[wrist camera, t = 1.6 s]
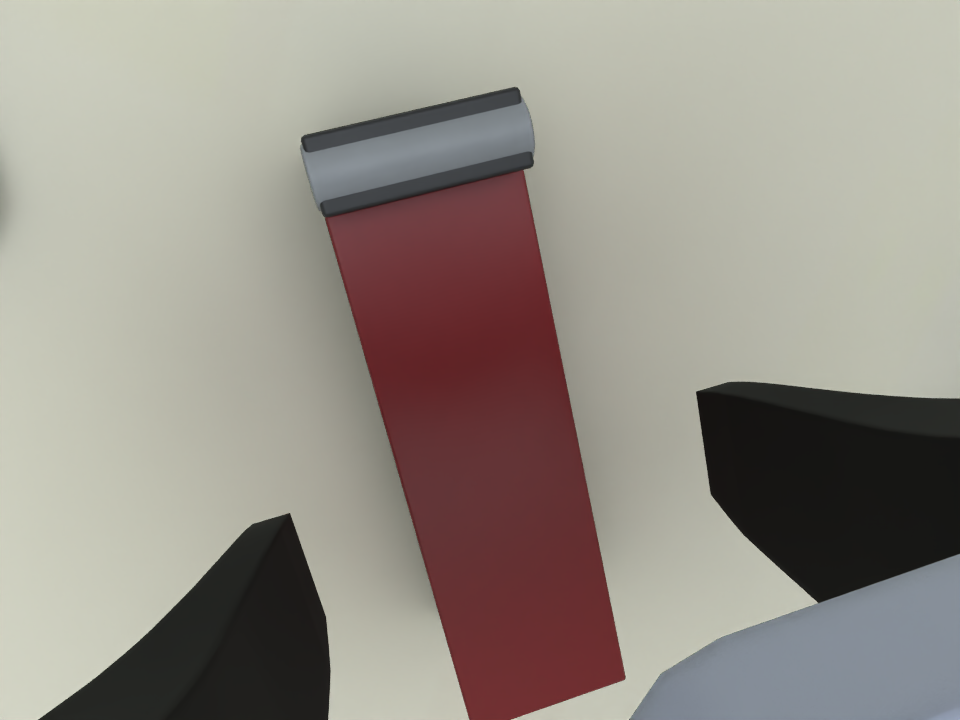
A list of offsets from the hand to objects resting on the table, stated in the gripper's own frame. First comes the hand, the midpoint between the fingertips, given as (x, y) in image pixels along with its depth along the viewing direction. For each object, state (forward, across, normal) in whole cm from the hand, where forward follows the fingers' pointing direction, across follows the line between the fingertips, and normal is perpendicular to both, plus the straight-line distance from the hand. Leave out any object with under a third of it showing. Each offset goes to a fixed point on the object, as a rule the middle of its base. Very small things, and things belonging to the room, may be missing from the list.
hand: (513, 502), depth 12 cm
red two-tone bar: (+7, 0, 0) cm, 7 cm away
